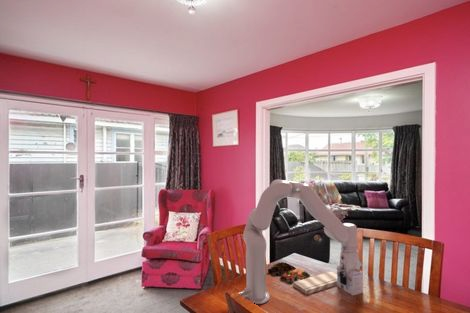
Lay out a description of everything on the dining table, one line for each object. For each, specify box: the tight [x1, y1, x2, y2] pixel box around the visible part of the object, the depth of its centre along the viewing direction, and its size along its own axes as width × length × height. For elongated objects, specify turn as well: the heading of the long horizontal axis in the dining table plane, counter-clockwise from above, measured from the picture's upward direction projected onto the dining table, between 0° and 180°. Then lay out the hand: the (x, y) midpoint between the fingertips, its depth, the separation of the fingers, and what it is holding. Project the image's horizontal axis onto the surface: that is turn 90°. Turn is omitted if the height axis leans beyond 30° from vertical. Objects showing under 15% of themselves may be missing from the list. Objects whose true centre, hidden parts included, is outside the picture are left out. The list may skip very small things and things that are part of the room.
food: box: [267, 261, 311, 284], centre depth 150 cm, size 22×19×4 cm
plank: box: [292, 270, 337, 295], centre depth 137 cm, size 28×10×2 cm, turn 117°
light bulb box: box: [336, 265, 364, 296], centre depth 131 cm, size 11×7×11 cm, turn 21°
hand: (349, 281), depth 131 cm, fingers open, 9 cm apart
